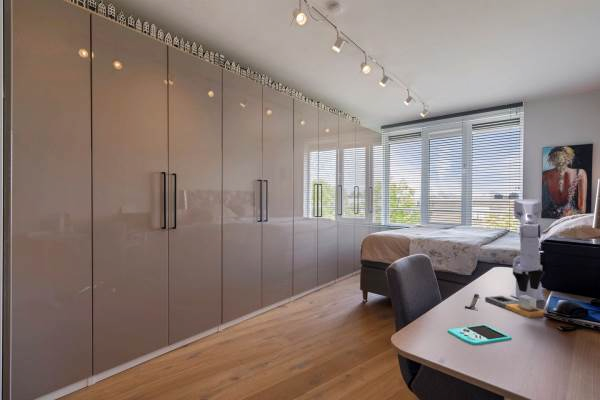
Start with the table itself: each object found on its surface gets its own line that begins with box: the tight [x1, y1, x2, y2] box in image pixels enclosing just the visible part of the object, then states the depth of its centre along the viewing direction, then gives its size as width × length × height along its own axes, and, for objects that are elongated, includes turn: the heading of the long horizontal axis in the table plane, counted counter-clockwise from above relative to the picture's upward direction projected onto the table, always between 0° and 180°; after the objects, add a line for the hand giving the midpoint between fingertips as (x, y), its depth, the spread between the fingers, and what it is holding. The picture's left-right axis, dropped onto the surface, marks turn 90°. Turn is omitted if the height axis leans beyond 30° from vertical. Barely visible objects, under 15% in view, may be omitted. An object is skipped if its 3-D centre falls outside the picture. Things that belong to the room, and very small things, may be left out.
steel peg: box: [518, 295, 537, 312], centre depth 117 cm, size 4×4×6 cm
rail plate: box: [484, 295, 546, 319], centre depth 122 cm, size 9×19×2 cm, turn 16°
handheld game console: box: [447, 324, 513, 346], centre depth 97 cm, size 10×16×1 cm, turn 106°
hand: (528, 289), depth 117 cm, fingers open, 7 cm apart
